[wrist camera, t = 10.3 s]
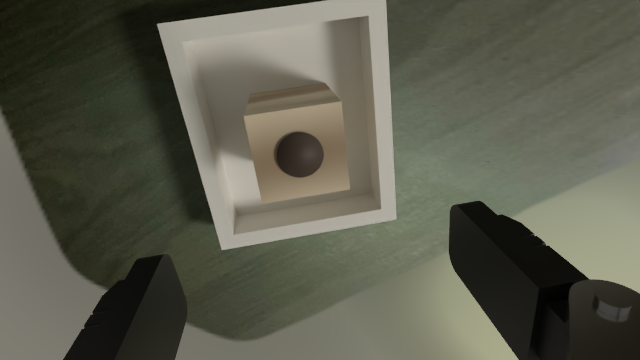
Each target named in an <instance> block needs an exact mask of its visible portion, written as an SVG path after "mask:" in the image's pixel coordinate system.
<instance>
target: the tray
mask: <svg viewBox="0 0 640 360" xmlns="http://www.w3.org/2000/svg"><path fill="white" fill-rule="evenodd" d="M157 26H158V30H159V33H160V37H161V40H162V44H163V47H164V51H165V54H166V57H167V61H168V64H169V68H170V71H171V75H172V78H173V82H174V85H175V89H176V92H177V96H178V99H179V103H180V106H181V110H182V113H183V117H184V120H185V123H186V127H187V130H188V134H189V137H190V141H191V144H192V148H193V151H194V155H195V158H196V162H197V165H198V169H199V172H200V176H201V179H202V183H203V186H204V190H205V193H206V196H207V200H208V203H209V207H210V210H211V214H212V217H213V221H214V224H215V228H216V231H217V235H218V238H219V242H220V245H221V249H222V250H225V249H231V248H237V247H242V246H248V245H254V244H259V243H265V242H271V241H277V240H282V239H288V238H294V237H299V236H305V235H311V234H316V233H322V232H328V231H334V230H339V229H345V228H351V227H356V226H362V225H368V224H373V223H379V222H385V221H391V220H396V200H395V179H394V158H393V137H392V116H391V95H390V74H389V53H388V32H387V11H386V0H327V1H319V2H312V3H305V4H298V5H290V6H283V7H276V8H269V9H261V10H254V11H247V12H239V13H232V14H225V15H218V16H210V17H203V18H196V19H189V20H181V21H174V22H167V23H160V24H157ZM323 83H326V84H327V86H328V87H329V88H330V89H331V90H332V91H333V92H334V93H335V95H336V96H337V97H338V98H339V99H340V100H341V101H342V111H343V121H344V131H345V141H346V151H347V161H348V171H349V181H350V189H349V190H343V191H337V192H331V193H325V194H319V195H313V196H307V197H301V198H295V199H289V200H283V201H277V202H271V203H265V204H262V200H261V196H260V191H259V186H258V182H257V177H256V172H255V168H254V163H253V158H252V154H251V149H250V144H249V140H248V135H247V130H246V126H245V121H244V113H245V110H246V107H247V103H248V100H249V97H250V94H254V93H261V92H268V91H275V90H282V89H289V88H295V87H302V86H309V85H316V84H323Z"/></svg>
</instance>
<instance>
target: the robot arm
mask: <svg viewBox="0 0 640 360" xmlns="http://www.w3.org/2000/svg"><path fill="white" fill-rule="evenodd" d="M449 255H450V260H451V263H452V266H453V268H454V270H455V272H456V273H457V275H458V276H459V277H460V279H461V280H462V281H463V283H464V284H465V286H466V287H467V288H468V290H469V291H470V293H471V294H472V295H473V297H474V298H475V299H476V301H477V302H478V303H479V305H480V306H481V308H482V309H483V311H484V312H485V313H486V315H487V316H488V317H489V319H490V320H491V322H492V323H493V324H494V326H495V327H496V328H497V330H498V331H499V333H500V334H501V335H502V337H503V338H504V340H505V341H506V342H507V344H508V345H509V347H510V348H511V349H512V351H513V352H514V353H515V355H516V356H517V358H518V359H519V360H640V294H639V293H638V292H636V291H634V290H632V289H630V288H628V287H625V286H623V285H620V284H617V283H613V282H609V281H604V280H590V279H588V278H587V277H586V276H585V275H584V274H582V273H581V272H580V271H579V270H577V269H576V268H575V267H574V266H573V265H571V264H570V263H569V262H568V261H567V260H565V259H564V258H563V257H561V256H560V255H559V254H558V253H557V252H555V251H554V250H553V249H552V248H550V246H546V244H545V242H543V241H542V240H541V239H540V238H539V237H537V236H534V233H532V232H531V231H530V230H529V229H528V228H526V227H525V226H524V225H523V224H522V223H520V222H518V221H516V220H513V219H511V218H509V217H507V216H504V215H497V214H495V213H494V212H493V211H492V210H491V209H490V208H489V207H487V206H486V205H485V204H484V203H483V202H481V201H474V202H469V203H463V204H457V205H453V206H452V207H451V210H450V229H449ZM186 318H187V302H186V297H185V294H184V292H183V289H182V286H181V283H180V281H179V278H178V275H177V273H176V270H175V267H174V264H173V262H172V259H171V257H170V256H169V255H168V254H163V255H157V256H151V257H145V258H139V259H137V260H136V261H135V263H134V265H133V266H132V268H131V270H130V272H129V273H128V275H127V277H126V279H125V280H121V281H118V282H117V283H116V284H115V285H114V286H113V287H112V288H110V289H109V290H108V291H107V292H106V293H105V294H104V295H103V296H102V297H101V299H100V301H99V302H98V304H97V306H96V307H95V309H94V310H93V315H90V317H89V319H88V320H87V322H86V323H85V325H84V327H85V328H84V329H82V330H81V332H80V333H79V335H78V337H77V338H76V340H75V341H74V343H73V345H72V346H71V348H70V350H69V351H68V353H67V354H66V356H65V358H64V359H63V360H175V357H176V354H177V350H178V347H179V343H180V340H181V336H182V333H183V329H184V326H185V323H186Z"/></svg>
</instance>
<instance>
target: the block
mask: <svg viewBox="0 0 640 360" xmlns="http://www.w3.org/2000/svg"><path fill="white" fill-rule="evenodd" d="M244 121H245V126H246V130H247V135H248V140H249V144H250V149H251V154H252V158H253V163H254V168H255V172H256V177H257V182H258V186H259V191H260V196H261V200H262V204H265V203H271V202H277V201H283V200H289V199H295V198H301V197H307V196H313V195H319V194H325V193H331V192H337V191H343V190H349V189H350V181H349V171H348V161H347V151H346V141H345V131H344V121H343V111H342V101H341V100H340V99H339V98H338V97H337V96H336V95H335V93H334V92H333V91H332V90H331V89H330V88H329V87H328V86H327V84H326V83H323V84H316V85H309V86H302V87H295V88H289V89H282V90H275V91H268V92H261V93H254V94H250V97H249V100H248V103H247V107H246V110H245V113H244Z"/></svg>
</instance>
